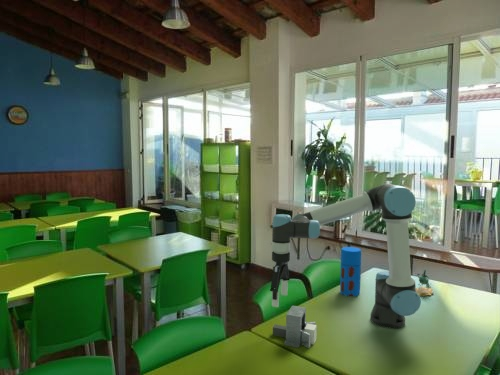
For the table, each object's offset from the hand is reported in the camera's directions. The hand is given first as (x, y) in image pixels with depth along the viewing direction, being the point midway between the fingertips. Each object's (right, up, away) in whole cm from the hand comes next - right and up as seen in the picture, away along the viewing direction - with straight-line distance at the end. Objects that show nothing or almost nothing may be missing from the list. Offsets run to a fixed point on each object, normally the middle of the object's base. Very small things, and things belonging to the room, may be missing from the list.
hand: (279, 300), depth 158 cm
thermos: (+43, -11, +50) cm, 67 cm away
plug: (+6, -15, -1) cm, 17 cm away
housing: (+9, -15, -2) cm, 18 cm away
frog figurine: (+86, -12, +51) cm, 100 cm away
